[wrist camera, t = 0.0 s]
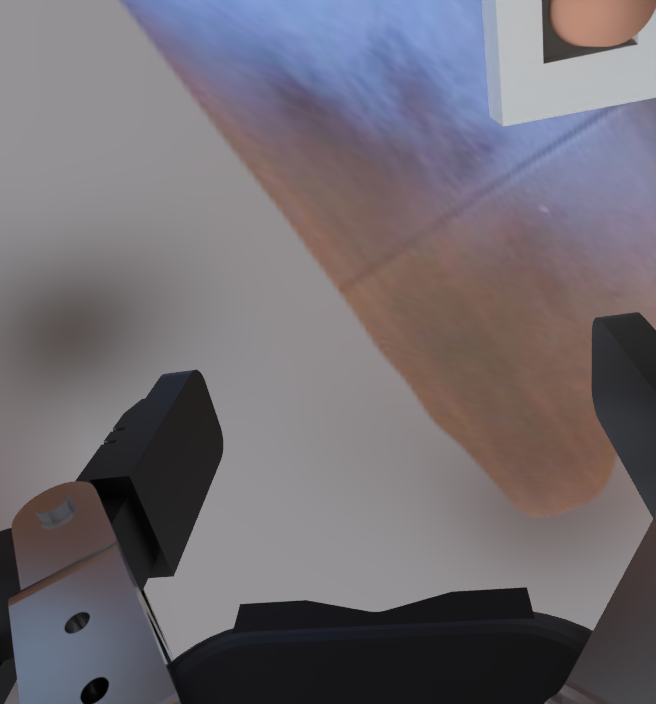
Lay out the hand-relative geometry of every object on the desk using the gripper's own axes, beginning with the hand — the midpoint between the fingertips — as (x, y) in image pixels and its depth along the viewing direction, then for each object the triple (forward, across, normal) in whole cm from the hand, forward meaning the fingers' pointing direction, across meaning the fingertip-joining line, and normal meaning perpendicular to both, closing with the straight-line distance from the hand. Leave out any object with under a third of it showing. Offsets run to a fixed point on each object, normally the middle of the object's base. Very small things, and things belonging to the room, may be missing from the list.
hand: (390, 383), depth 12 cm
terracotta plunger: (+25, -11, -6) cm, 28 cm away
